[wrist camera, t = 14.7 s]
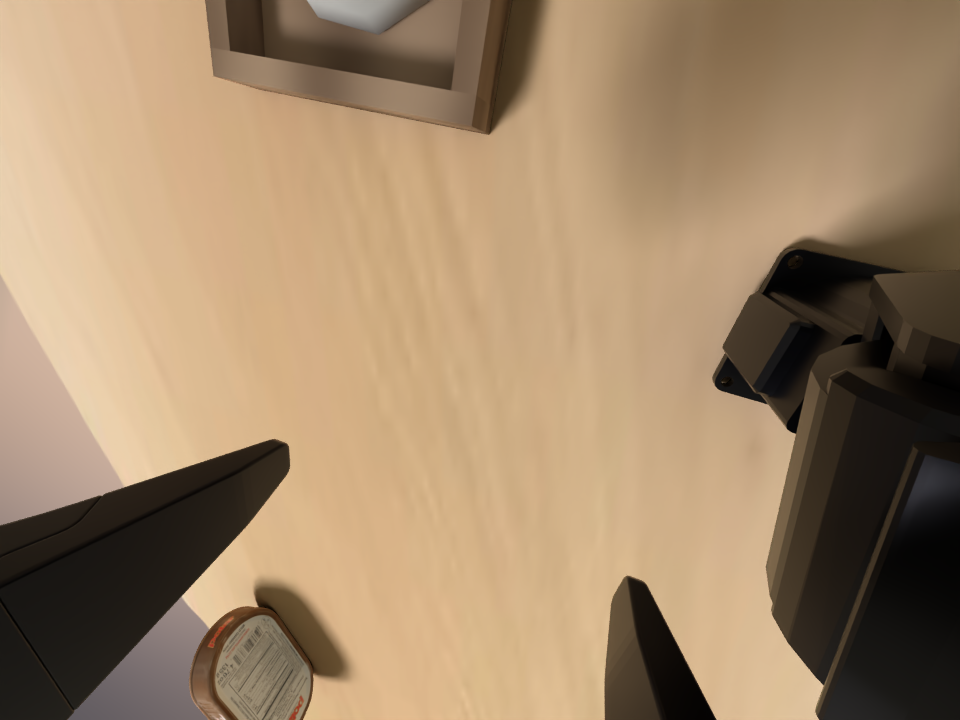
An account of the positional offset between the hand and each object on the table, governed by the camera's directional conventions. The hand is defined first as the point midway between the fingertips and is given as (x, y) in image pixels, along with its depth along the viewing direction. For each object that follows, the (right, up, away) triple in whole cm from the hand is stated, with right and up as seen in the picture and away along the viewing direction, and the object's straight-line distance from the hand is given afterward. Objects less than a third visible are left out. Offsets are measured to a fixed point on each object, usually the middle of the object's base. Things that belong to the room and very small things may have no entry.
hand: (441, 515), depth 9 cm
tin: (-20, -27, +33) cm, 47 cm away
